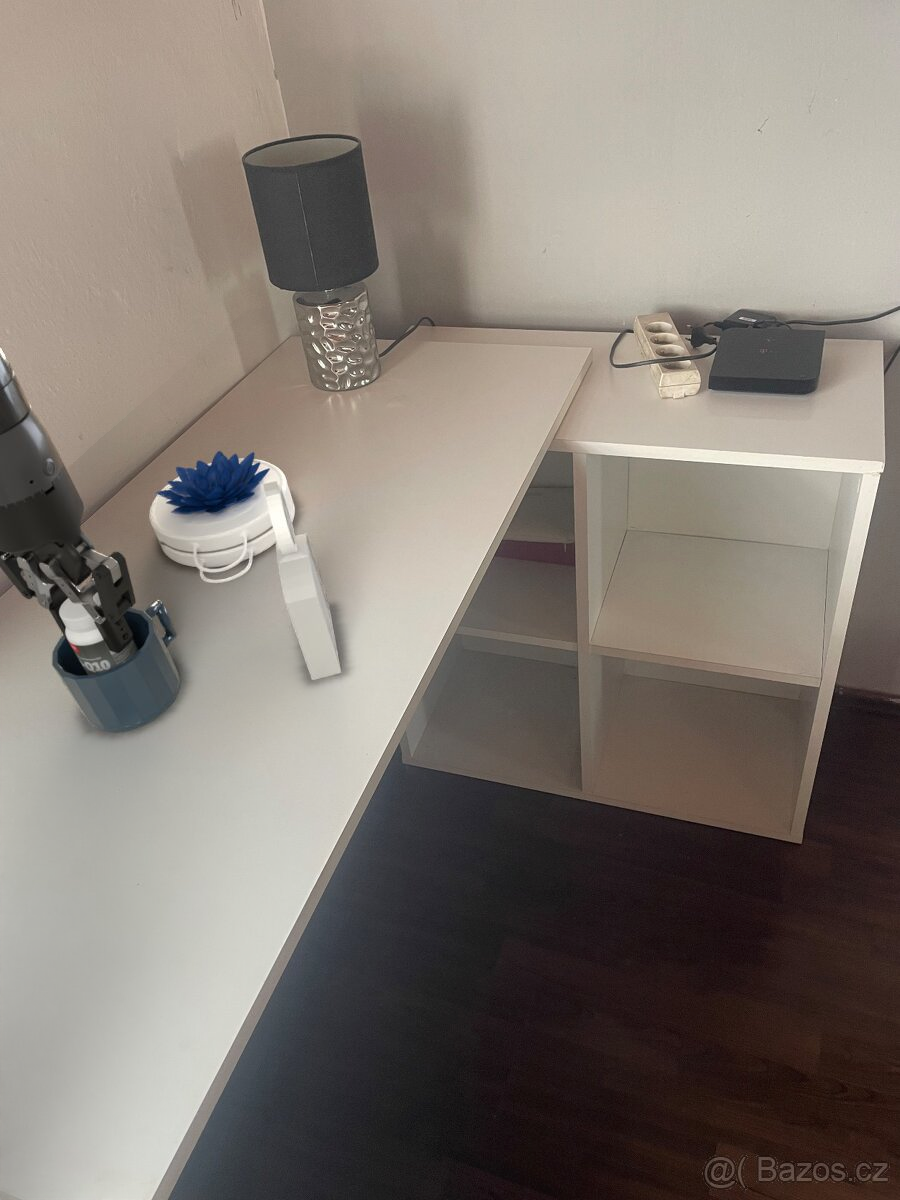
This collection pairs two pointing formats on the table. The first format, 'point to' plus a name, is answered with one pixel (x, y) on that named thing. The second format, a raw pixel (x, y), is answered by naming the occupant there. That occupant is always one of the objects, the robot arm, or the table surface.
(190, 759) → the table surface
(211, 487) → the white round gift box
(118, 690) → the mug
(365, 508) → the table surface
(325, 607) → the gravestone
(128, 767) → the table surface
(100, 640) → the pill bottle
